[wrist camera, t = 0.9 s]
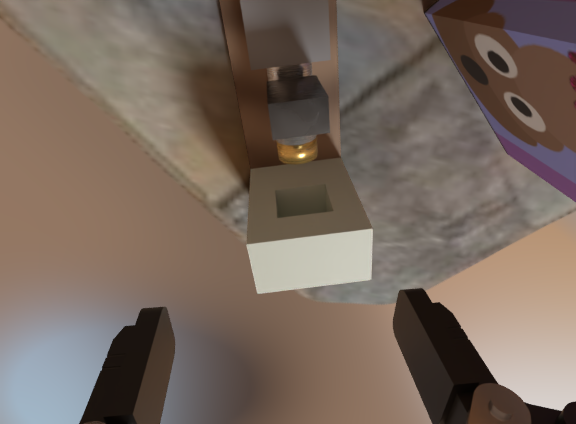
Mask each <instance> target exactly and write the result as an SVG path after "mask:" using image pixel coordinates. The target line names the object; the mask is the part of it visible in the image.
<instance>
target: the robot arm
mask: <svg viewBox="0 0 576 424" xmlns="http://www.w3.org/2000/svg"><path fill="white" fill-rule="evenodd" d="M393 330H394V334H395V337H396V340H397V342H398V345H399V347H400V349H401V352H402V354H403V356H404V359H405V361H406V363H407V366H408V367H409V370H410V373H411V375H412V377H413V379H414V382H415V384H416V387H417V389H418V391H419V394H420V396H421V398H422V401H423V403H424V405H425V407H426V410H427V412H428V414H429V417H430V419H431V421H432V424H576V402H571V403H569V404H567V405H566V406H565V408H564V409H563V411H559V410H554V409H549V408H545V407H540V406H536V405H531V404H528V403H525V402H523V400H522V399H521V398H520V397H519V396H518V395H517V394H515V393H514V392H513V391H511V390H510V389H508V388H506V387H504V386H501V385H499V384H498V383H497V381H496V380H495V379H494V377H493V375H492V374H491V373H490V371H489V369H488V368H487V366H486V365H485V363H484V361H483V360H482V358H481V357H480V356H479V354H478V352H477V351H476V349H475V347H474V346H473V345H472V343H471V342H470V340H468V337H467V335H466V334H465V332H464V330H463V329H461V326H460V324H459V323H458V321H457V320H456V318H455V317H454V315H453V313H452V312H450V311H449V310H448V309H447V308H446V307H444V306H443V305H442V304H441V303H440V302H438V303H432V302H431V300H430V298H429V297H428V295H427V294H426V292H425V291H424V289H422V288H419V289H406V290H400V291H399V293H398V298H397V303H396V307H395V313H394V317H393ZM174 354H175V337H174V333H173V330H172V326H171V322H170V318H169V314H168V310H167V308H166V307H156V308H143V309H141V311H140V313H139V316H138V319H137V321H136V325H133V326H125V327H124V328H123V329H122V330H121V331H120V332H119V334H118V335H117V336H116V337H115V338H114V339H113V341H112V344H111V346H110V349H109V351H108V354H107V358H106V359H105V362H104V364H103V366H102V371H100V374H99V376H98V379H97V381H96V384H95V386H94V389H93V391H92V394H91V396H90V399H89V401H88V404H87V406H86V409H85V411H84V414H83V416H82V419H81V421H80V423H79V424H160V421H161V416H162V411H163V407H164V401H165V398H166V392H167V387H168V383H169V379H170V373H171V369H172V364H173V359H174Z"/></svg>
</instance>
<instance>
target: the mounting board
mask: <svg viewBox="0 0 576 424" xmlns="http://www.w3.org/2000/svg"><path fill="white" fill-rule="evenodd" d="M219 2H220V7H221V12H222V18H223V23H224V29H225V34H226V39H227V45H228V50H229V55H230V61H231V66H232V72H233V77H234V82H235V88H236V93H237V99H238V104H239V109H240V115H241V120H242V125H243V131H244V136H245V142H246V147H247V152H248V158H249V163H250V168H251V169H255V168H263V167H270V166H278V165H286V163H283V162H281V161H280V160H279V157H278V150H277V142H276V140H273V139H272V132H271V125H270V118H269V110H268V102H267V83H266V81H268V76H267V68H272V67H280V66H288V65H296V64H303V63H311V62H312V75H316V76H317V77H318V79H319V81H320V83H321V84H322V86H323V88H324V90H325V91H326V93H327V95H328V97H329V119H330V133H326V134H318V135H317V150H318V156H317V157H316V158H315V159H314V160H312V161H318V160H325V159H333V158H341V147H340V112H339V78H338V43H337V8H336V0H219Z"/></svg>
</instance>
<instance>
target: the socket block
mask: <svg viewBox="0 0 576 424" xmlns="http://www.w3.org/2000/svg"><path fill="white" fill-rule="evenodd" d="M372 236H373V228H372V226H371V224H370V221H369V219H368V217H367V215H366V213H365V210H364V208H363V206H362V204H361V201H360V199H359V197H358V195H357V193H356V190H355V188H354V186H353V184H352V181H351V179H350V177H349V175H348V172H347V170H346V168H345V166H344V164H343V161H342V159H341V158H333V159H325V160H318V161H310V162H307V163H304V164H286V165H278V166H270V167H263V168H255V169H251V171H250V189H249V208H248V226H247V244H246V245H247V249H248V253H249V258H250V262H251V267H252V272H253V275H254V280H255V285H256V289H257V293H258V294H261V293H269V292H277V291H285V290H293V289H301V288H309V287H317V286H325V285H333V284H341V283H349V282H357V281H365V280H371V270H372Z"/></svg>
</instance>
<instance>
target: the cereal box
mask: <svg viewBox="0 0 576 424" xmlns="http://www.w3.org/2000/svg"><path fill="white" fill-rule="evenodd" d="M424 14H425V16H426V17H427V19H428V21H429V22H430V24H431V26H432V27H433V29H434V31H435V33H436V34H437V36H438V38H439V39H440V41H441V43H442V44H443V46H444V48H445V50H446V51H447V53H448V55H449V56H450V58H451V60H452V61H453V63H454V65H455V66H456V68H457V70H458V72H459V73H460V75H461V77H462V78H463V80H464V82H465V83H466V85H467V87H468V89H469V90H470V92H471V94H472V95H473V97H474V99H475V100H476V102H477V104H478V105H479V107H480V109H481V111H482V112H483V114H484V116H485V117H486V119H487V121H488V122H489V124H490V126H491V128H492V129H493V131H494V133H495V134H496V136H497V138H498V139H499V141H500V143H501V144H502V146H503V148H504V150H505V151H506V153H507V154H508V155H510V156H511V157H513V158H514V159H515V160H517V161H518V162H520V163H521V164H522V165H524V166H525V167H527V168H528V169H529V170H531V171H532V172H534V173H535V174H537V175H538V176H539V177H541V178H542V179H544V180H545V181H546V182H548V183H549V184H551V185H552V186H554V187H555V188H556V189H558V190H559V191H561V192H562V193H563V194H565V195H566V196H568V197H569V198H571V199H572V200H573V201H575V202H576V0H438V1H437V2H436V3H434V4H433V5H432V6H431V7H430V8H429V9H428V10H427V11H425V12H424Z"/></svg>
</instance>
